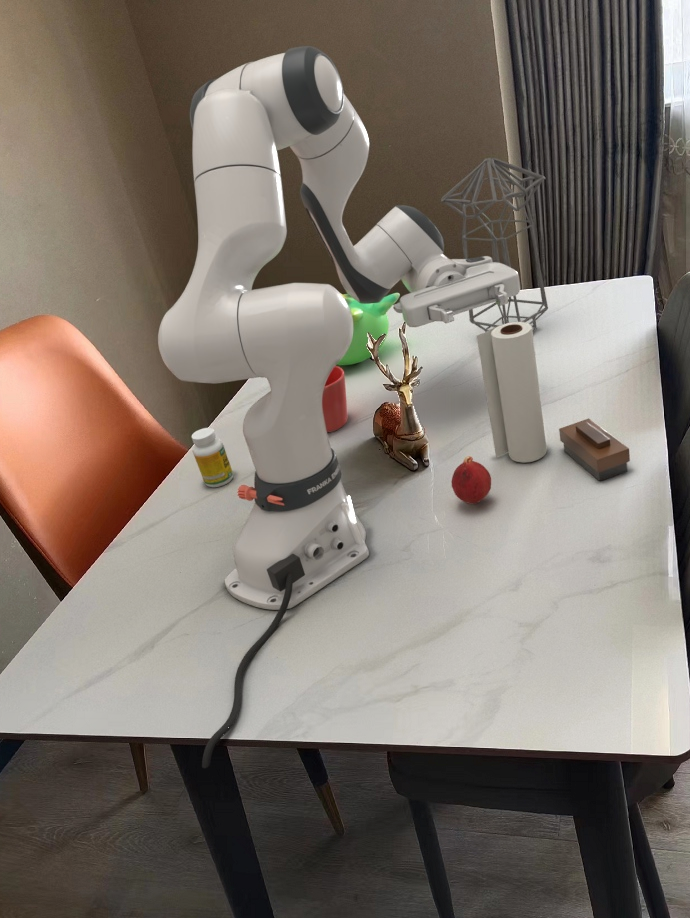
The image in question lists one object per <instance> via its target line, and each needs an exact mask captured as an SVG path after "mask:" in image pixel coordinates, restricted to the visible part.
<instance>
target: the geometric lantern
mask: <svg viewBox="0 0 690 918" xmlns="http://www.w3.org/2000/svg"><path fill="white" fill-rule="evenodd" d="M486 166H487V177H485V178H484V174H485V169H486ZM508 169H510V170H512V171H515V172H518V173H521V174H524V175H527V176H529V177H524V178H520V176H518V175H516V174H514V173H513V172H512V171H510V170H508ZM493 171H494V173H495V175H496V177H494V175H493ZM503 177H504V178H503ZM469 179H470V180H469ZM515 179H516V180H517V181H516V180H515ZM467 180H469V181H468V183H467V184H466V185H465V187H464V188H463V190H462V191H461V192H458V193H454V192H455V191H457V189H459V188H460V187H461V186H462V185H463V184H464V183H465V182H466V181H467ZM487 180H489V184H490V190H491V197H492V198H491V199H485V200H480V201H477V200H478V197H479V194H480V192H481V188H482V185H483V182H484V181H487ZM533 180H534V181H533ZM544 180H546V177H545V176H544V175H541V174H539V173H537V172H534V171H531V170H528V169H525V168H524V167H520V166H518V165H515V164H513V163H510V162H507V161H505V160H502V159H499V158H496V157H492V158H491V157H488V158H484V160H483V161H482V162H481V163H480V164H479V165H477V166H476V167H475V168H474V169H473V170H472V171H471V172H469V173H468V174H467V175H466V176H465V177H464V178H462V179H461V180H460V181H459V182H458V183H457V184H455V186H453V187H451V189H450V190H448V191H447V192H446V193H445V194H444V195H443V196H442V197H441V199H440V201H441V202H440V203H444V204H445V205H447V206H448V207H449V208H451V209H452V210H453V211H455V212H456V213H457V214H459V215H460V216H462V228H461V236H460V238H461V241H462V242H461V244H462V253H463V259H469V258H468V255H469V254H468V241H467V240H469V241H482V242H491V243H490V244H491V253H492V262H497V263H501V262H500V254H499V248H498V242H500V246H501V252H502V261H503V264H504V265H506V266H508V267H510V268H512V266H511V260H510V255H509V249H508V243H507V240H508V239H511V238H513V237H514V236H516V235H518V234H521V233H522V232H524V231H526V230H528V229H529V230H530V236H531V241H532V245H533V251H534V257H535V264H536V271H537V277H538V284H539V290H540V291H539V292H540V297H541V301H536V300H527V299H517V295H515V296H511V297H508V304H507V311H506V304H505V305H501V306H502V307H501V306H499V305H497V304H496V302H493V303H491V304H490V305H488V306H487V307H485V308H484V309H482V310H481V311H479V312H477V313H475V314H474V309H471V310H468V316H469V322H470V323H471V324H473V325H475V326H477V328H479V329H481V330H483V331H484V333H485V332H487V331H489V330H490V329H491V328H494V327H497V326H500V325H503V324H506V323H510V320H509V319H516V320H517V322H525V323H529V324H530V325H531V326H532V328H534V329H532V332H533V333H534V332H535V331H537V330H538V327H537V326H538V325H537V320H538V319H540V317H542V315H544V314H545V313H546V312H547V311H548V309H549V306H548V300H547V294H546V289H545V284H544V280H543V274H542V269H541V263H540V258H539V253H538V247H537V240H536V239H537V238H536V234H535V233H536V232H535V226H534V225H535V224H534V220H533V217H532V212H531V208H530V205H529V201H531V198H532V197H533V195H534V194H535V193H536V191H537V190H538V189H539V187H540V185H541V184H542V182H543V181H544ZM527 181H532V183H531V184H529V186H527V187H526V182H527ZM502 184H503V185H502ZM508 184H510V186H512V188H510V186H509V185H508ZM495 186H497V187H498V188H500V190H501V193H502V197H501V199H498V198H497V192H496V187H495ZM515 187H517V188H518V189H519V191H516V192H515ZM531 189H532V190H531ZM530 190H531V191H530ZM529 191H530V193H529V194H528V192H529ZM453 193H454V194H453ZM470 193H471V200H468V199H467V198H468V196H469V195H470ZM505 193H506V194H505ZM457 197H461V199H460V198H459V199H458V198H457ZM524 197H525V200H524V202H523V200H522V198H524ZM456 198H457V199H456ZM512 198H514V199H515V200H514V201H515V204H516V206H515V205H514V204H513V203H512V202H511V199H512ZM500 202H504V203H505V205H504V207H503V209H502V211H501V214H500V216H499V218H498V219H495V220H491V219H490V218H489V217H488V216H487V215H486V214H485V213H484V212H485V211H487V210H488V209H489V208H490V207H491V206H493V204H495V203H500ZM519 202H520V205H519ZM485 204H486V205H485ZM454 205H455V206H454ZM479 205H485V206H484V207H483V208H481V209H480V208H479V207H478V206H479ZM456 206H457V207H461V210H460V209H458V208H457V207H456ZM508 206H509V207H510V208H511V209H512V210H511V211H510V215H509V217H508V219H503V217H504V216H505V213H506V210H507V209H508ZM469 207H470V208H471V209H472V212H473V214H471V215H467V214H466V212H467V210H466V208H469ZM525 207H526V208H525ZM475 208H476V209H477V210H478V213H476V210H475ZM521 209H522V210H523V212H524V215H525V218H526V219H511V218H512V216H513V214H514V212H520V210H521ZM481 215H482V216H483V217H484V218H485V219H486V220H487V222H484V221H483V219H482V217H480V216H481ZM471 219H477V220H478V221H479V222H480V224H481V225H480V226H477V227H476V228H473V229H472V230H469V231H468V232H467V224H466V223H467V220H471ZM502 222H503V223H506V224H505V226H504V228H502ZM509 223H528V224H529V225H527V226H525V227H524V228H522V229H520V230H518V231H516V232H514V233H512V234H510V235H508V236H507V237H504V234H505V232H506V230H507V227H508V225H509ZM493 224H498V229H499V237H496V236H495V234H494V225H493ZM488 225H489V227H488ZM483 227H484V229H485V230H486V231H487V232H488V234H489V235H490V238H479V237H467V236H468V235H470V234H472V233H474V232H476V231H478V230H480V229H482V228H483ZM511 303H514V310H515V314H516V315H509V314H510V307H511ZM518 303H520V304H521V303H522V304H533V305H540V307H539V308H538V309H537V312H535V313H533V314H531V315H530V316H524V315H523V316H520V312H519V305H518ZM496 305H497V307H498V309H499V312H500V315H501V317H499V318H498V319H496V320H495V321H494V322H493V323H489V322H488V323H487V322H483V321H476V320H475V318H477V317H478V316H480V315H482V314H483V313H485V312H487V311H488V310H490V309H492V308H493V307H495V306H496ZM543 307H544V308H543ZM521 319H523V320H521ZM530 320H531V321H530ZM499 321H501V323H502V324H497V323H498V322H499ZM528 321H530V322H528ZM484 326H485V327H486V328H485V327H484Z"/></svg>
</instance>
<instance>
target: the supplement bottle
mask: <svg viewBox="0 0 690 918" xmlns="http://www.w3.org/2000/svg"><path fill="white" fill-rule="evenodd" d="M190 437H191V440H192V443H193V447H192V453H193V456H194V459H195V462H196V465H197V467H198V469H199V472H200V476H201V477H202V481H203V483H204V484H205V486H206V487H208V488H219V487H222V486H225V485H227V484H229V483H230V482H231V481H232V479H234V472H233V469H232V466H231V463H230V460H229V458H228V455H227V451H226V448H225V445H224V443H223V441H222V440H221V439H220V438H218V437H217V435H216V432H215V430H214V428H213V427H203V428H201V429H198V430H196V431H194V432H193V433H192V434H191V436H190Z"/></svg>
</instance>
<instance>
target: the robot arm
mask: <svg viewBox="0 0 690 918" xmlns="http://www.w3.org/2000/svg"><path fill="white" fill-rule="evenodd" d="M340 76H341V75H340V74H339V71H338V69H337V66H335V64H334V62H333V60H332V59H331V58H330V56H328V55H327V54H326V53H324V51H322V50H320V49H319V48H317V47H315V46H312V45H303V46H296V47H295V46H294V47H291V48H289V49H287V50H286V51H285V52H282V53H279V54H278V53H277V54H274V55H270V56H267V57H264V58H260V59H258V60H255V61H249V62H246V63H244V64H242V65H240V66H238V67H236V68H233V69H232V70H230V71H228V72H226V73H224V74H223V75H221V76H219V77H218V78H213V79H210V80H209V81H207V82H206V83H204V84H203V85H202V86H200V87H199V88H198V89H197V90H196V91H195V93H194V94H193V96H192V98H191V102H190V109H189V122H190V126H191V130H192V173H193V185H194V193H195V202H196V214H197V236H198V238H197V239H198V242H197V252H196V258H195V261H194V266H193V269H192V273H191V275H190V277H189V280H188V282H187V284H186V286H185V289H184V290H183V292H182V293H181V295H180V297H178V299H177V300H176V302H175V303H174V304H173V305H172V306H171V307H170V308H169V309H168V310H167V311H166V312H165V314H164V315H163V317H162V319H161V322H160V325H159V329H158V334H157V343H158V345H157V346H158V350H159V354H160V356H161V360H162V361H163V363H164V365H165V366H166V368H167V369H168V371H169V372H171V374H172V375H173V376H175V378H177V379H178V380H180V381H181V382H188V383H189V382H190V383H200V384H223V383H228V382H236V381H243V380H249V379H256V378H263V379H264V378H265V379H266V381H268V384H269V388H270V391H268V392H267V393H266V394H264V395H263V396H262V397H260V398H259V399H258V400H257V401H255V402H254V403H253V404H252V405H251V406H250V407H249V409H248V410H247V412H245V413H246V414H245V416H244V418H243V422H242V434H243V437H244V440H245V443H246V446H247V448H248V452H249V455H250V457H251V460H252V464H253V467H254V470H255V471H254V484H253V485H254V486H248V485H247V484H241V485H239V486H238V488H237V492H236V493H237V496H238V498H239V499H241V500H246V501H248V502H252V501H253V500H254V504H253V506H252V508H251V509H250V513H249V514H248V516H247V518H246V520H245V522H244V524H243V527H242V528H241V530H240V532H239V534H238V536H237V538H236V540H235V542H234V544H233V549H232V550H233V553H232V554H233V559H234V565H235V567H234V568H233V569H232V570H231V572H229V574H228V575H227V576H226V577H225V579H224V585H225V588H226V591H227V592H228V593H229V594H230V595H231V596H232V597H233V598H234V599H236V600H238V601H240V602H242V603H244V604H247V605H249V606H252V607H254V608H255V607H256V608H259V609H264V610H272V611H277V613H276V615H275V617H274V619H273V620H272V622H271V624H270V625H269V627H267V629H266V630H265V632H264V633H263V634H262V635H261V636H260V637H259V638H258V640H256V642H255V643H253V645H252V646H251V647H250V648H249V649H248V650H247V651H246V652H245V654H244V656H243V657H242V659H241V661H240V663H239V664H238V666H237V669H236V673H235V677H234V687H233V688H234V689H233V701H232V702H233V703H232V707H231V711H230V714H229V715H228V718H227V719H226V721H225V722H224V724H223V725H221V727H219V728H218V730H216V731H215V732H214V733H213V735H211V737H210V739H209V740H208V742H207V743H206V745H205V747H204V751H203V754H202V760H201V767H202V769H207V768H208V767H209V766H210V764H211V760H212V754H213V753H214V749H215V747H216V745H217V744H218V742H219V741H220V740H221V739H222V738H223V737H224V736H225V735H226V734H227V733H228V732H229V731H230V730H231V728H232V727H233V726H234V725H235V724H236V721H237V719H238V717H239V713H240V710H241V705H242V690H243V689H242V688H243V687H242V686H243V678H244V674H245V671H246V669H247V666H248V664H249V663H250V661H251V660H252V658H253V657H254V656H255V654H256V653H257V652H258V651H259V650H260V649H261V648H262V646H263V645H265V643H266V642H267V641H268V639H269V638H270V637H272V635H273V634H274V633H275V632H276V630H277V628H278V627H279V625H280V623H281V622H282V621H283V618H284V616H285V614H286V612H287V610H289V609H293V608H294V607H296V606H297V605H298V604H299V605H300V603H302V602H303V601H305V600H306V599H308V598H309V597H311V596H312V595H314V594H315V593H316V592H319V590H322V589H323V588H324V587H326V586H327V585H329V584H330V583H332V582H333V581H334V580H336V579H338V578H340V576H342V575H344V574H345V573H347V572H348V571H350V570H351V569H352V568H354V567H356V566H357V565H359V564H360V563H361V562H363V561H365V560H367V558H368V557H369V556H370V552H369V549H368V546H367V544H366V538H367V531H366V528H365V526H364V525H363V523H362V522H361V521H360V519H359V517H358V516H357V514H356V512H355V510H354V506H353V503H352V499H351V496H350V495H347V493H346V490H345V487H344V485H343V482H342V470H341V466H340V463H339V459H338V456H337V454H336V451H335V449H333V447H331V443H330V439H329V435H328V432H327V430H326V425H325V421H324V415H323V408H322V396H323V390H324V386H325V383H326V381H327V378H328V376H329V374H330V373H331V371H332V369H333V368H334V367H335V366H337V363H338V362H339V361H340V360H341V359H342V358H343V357H344V355H345V354H346V352H347V350H348V349H349V346H350V344H351V341H352V337H353V318H352V314H351V310H350V308H349V306H348V304H347V302H346V300H345V299H344V297H343V296H342V295H341V294H342V293H341V292H340V291H339V290H337V288H335V287H334V286H333V285H331V284H329V283H317V282H316V283H315V282H314V283H313V282H290V283H283V284H280V285H273V286H268V287H267V286H266V287H261V288H256V289H255V288H254V289H253V285H254V282H255V280H256V277H257V276H258V274H259V272H260V271H261V269H262V268H263V267H264V266H266V265H267V264H268V263H269V262H271V261H272V260H273V259H274V258H275V257H277V256H278V254H279V253H280V252H281V251H282V249H283V247H284V245H285V242H286V239H287V234H288V228H287V220H286V219H287V218H286V211H285V202H284V191H283V183H282V176H281V175H282V174H281V166H280V161H279V155H278V151H280V150H283V149H285V148H290V149H291V151H292V152H293V153H294V155H295V157H296V158H297V160H298V162H299V164H300V168H301V174H302V183H301V186H300V189H299V194H300V198H301V201H302V204H303V206H304V209H305V211H306V214H307V215H308V217H309V219H310V221H311V224H312V225H313V228H314V229H315V232H316V233H317V235H318V237H319V239H320V241H321V243H322V244H323V247H324V248H325V250H326V252H327V255H328V256H329V258H330V260H331V262H332V264H333V268H334V269H335V272H336V274H337V276H338V280H339V282H340V284H341V286H342V287H343V289H344V290H345V292H346V294H349V295H350V296H351V297H352V298H353V299H355V300H356V301H358V302H359V303H362V304H371V303H379V302H380V301H381V300H382V299H383V298H384V297H386V296H388V293H390V291H391V290H392V288H393V287H394V286H396V284H397V283H399V282H400V281H401V282H402V284H403V285H404V287H405V288H406V289H407V291H408V292H409V293H406V294H403V295H402V296H401V297H399V300H398V302H397V303H394V304H393V306H392V309H393V310H394V311H395V312H396V313H397V314H401V315H402V319H403V321H404V323H405V324H406V325H407V326H408V327H409V328H419V327H422V326H425V325H428V324H430V323H434V322H443V323H444V324H448V323H449V324H450V323H452V322H454V321H455V317H454V316H456V315H459V314H462V313H464V312H469V310H471V309H473V310H474V309H478V308H480V307H484V306H487V305H489V304H490V305H491V304H493V303H495V302H496V305H497V306H498V305H499V306H500V307H501V306H502V305H505V306H506V305H508V304H509V302H508V299H509V297H511V298H512V297H513V296H515V295H516V296H517V295H518V294H519V293H520V292H521V282H520V281H521V280H520V276H519V273H518V271H517V270H515V269H514V268H512V267H511V268H510V267H508V265H507V266H506V265H504V263H502V262H500V263H497V261H496V262H493V257H491V256H489V255H484V256H477V257H471V258H468V259H464V258H452V259H451V258H449V257H448V256H446V255H445V254H444V253H445V244H444V238H443V236H442V234H441V233H440V231H439V230H438V228H437V227H436V225H435V224H434V223H433V222H432V221H431V220H430V218H429V217H428V216H427V215H425V214H424V213H423V212H421V210H419V209H418V208H415V207H413V206H410V205H403V204H400V205H395V206H394V207H393V208H392V209H391V210H390V211H388V212H387V213H386V215H384V216H383V217H382V218H381V219H380V220H379V221H378V222H377V223H376V224H375V225H374V226H373V227H372V228H371V229H370V230H369V231H368V232H367V233H366V234H365V235H364V236H363V237H362V238H361V239H360V240H359V241H358V242H357V243H356V244H354V245H353V242H352V241H351V239H350V237H349V235H348V232H347V230H346V228H345V226H344V224H343V215H344V210H345V207H346V205H347V202H348V200H349V198H350V196H351V194H352V192H353V190H354V189H355V187H356V185H357V184H358V182H359V180H360V179H361V177H362V175H363V173H364V171H365V168H366V166H367V162H368V158H369V153H370V139H369V135H368V131H367V129H366V127H365V125H364V122H363V121H362V119H361V117H360V116H359V114H358V112H357V110H356V109H355V108H354V106H353V105H352V103H351V101H350V100H349V98H348V97H347V96H346V94H345V93H344V88H343V87H344V86H343V83H342V80H341V77H340ZM340 293H341V294H340ZM228 727H229V728H228ZM223 734H224V735H223ZM214 744H216V745H214Z"/></svg>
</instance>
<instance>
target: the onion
mask: <svg viewBox="0 0 690 918" xmlns="http://www.w3.org/2000/svg"><path fill="white" fill-rule="evenodd" d="M451 488H452V490H453V493H454V495H455V496H456V497H457V499H459V500H460V501H462V502H464V503H466V504H470V505H471V504H472V505H477V504H479V503H480V501H483V500H484V499H485V498H486V497H487V495H489V493H490V491H491V489H492V477H491V474H490V472H489V470H488V469H487V468H486V467H485V466H484V465H483V464H481V463H479V462H477V461H474V458H473V456H470V455H467V456H465V457H464V459H463V461H462V463H460V464H459V465H458V466H457V467H456V468H455V470H454V472H453V474H452V477H451Z"/></svg>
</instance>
